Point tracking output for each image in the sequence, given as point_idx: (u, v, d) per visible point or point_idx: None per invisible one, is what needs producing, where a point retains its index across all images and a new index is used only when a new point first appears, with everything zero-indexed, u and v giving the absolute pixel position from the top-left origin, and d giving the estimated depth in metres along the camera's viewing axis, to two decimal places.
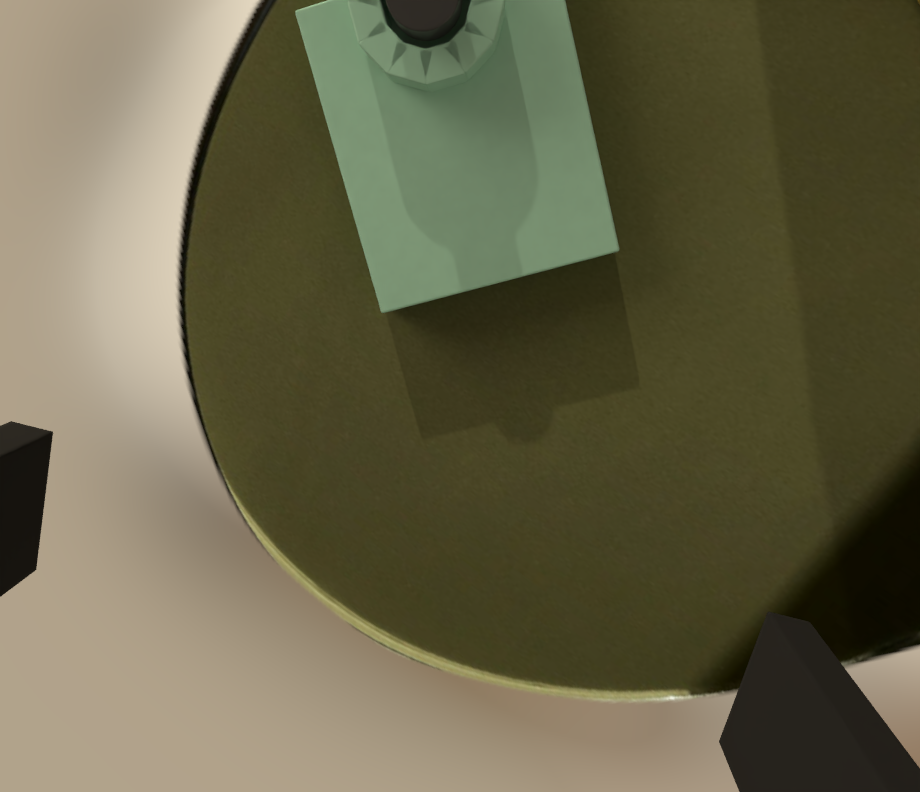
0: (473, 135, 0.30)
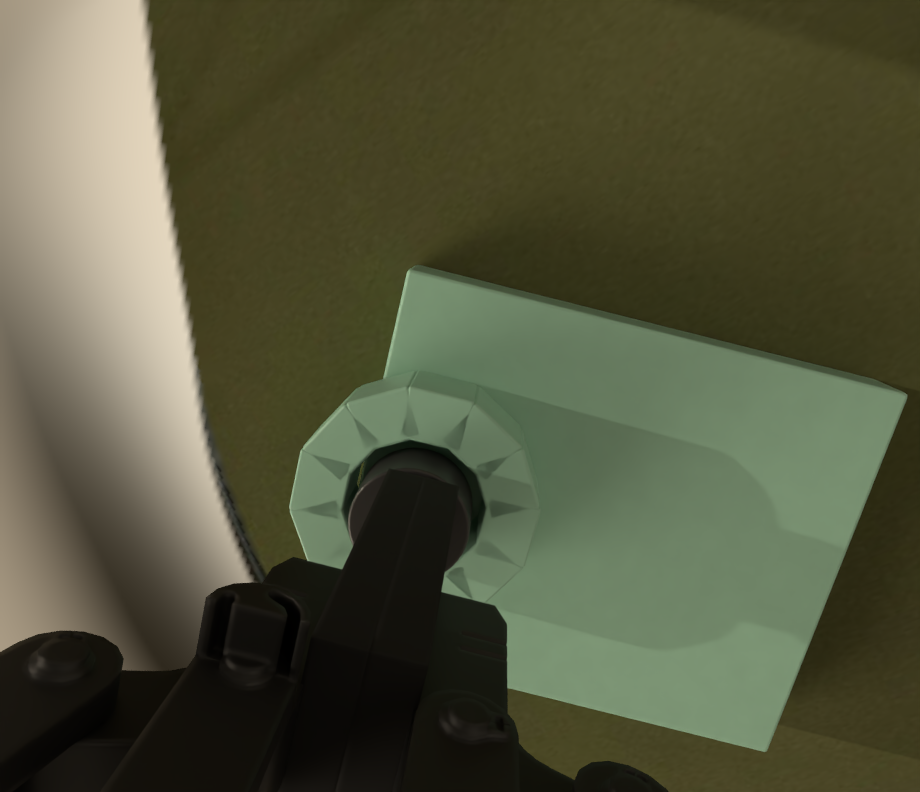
0: (612, 511, 0.19)
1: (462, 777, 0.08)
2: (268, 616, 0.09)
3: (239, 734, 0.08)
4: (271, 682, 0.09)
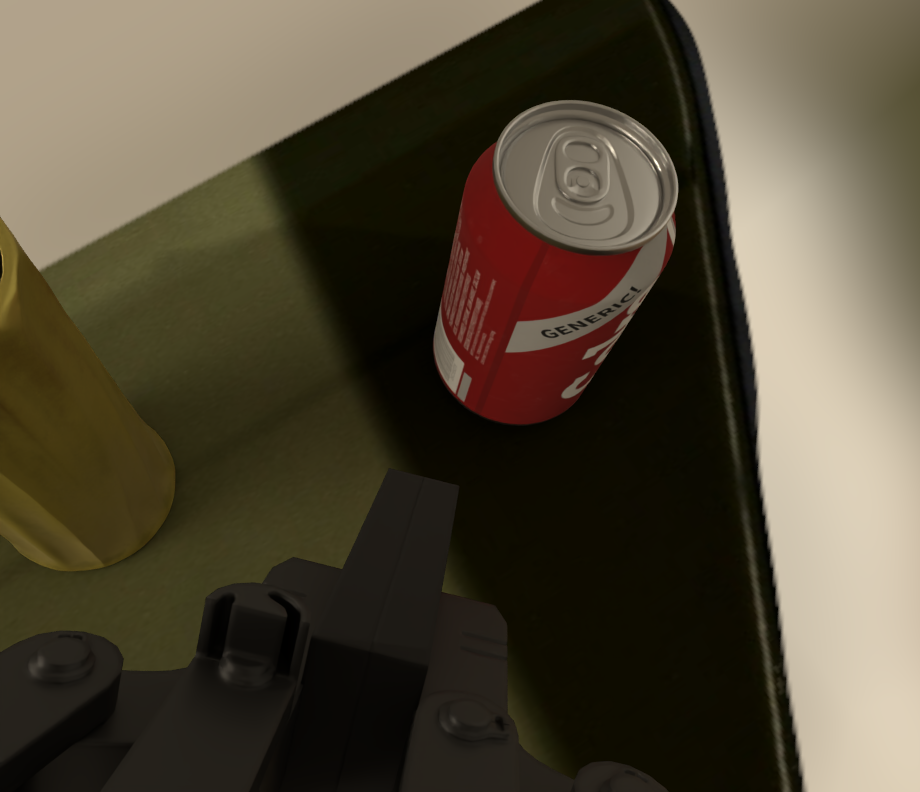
0: None
1: (462, 777, 0.08)
2: (268, 616, 0.09)
3: (239, 734, 0.08)
4: (271, 682, 0.09)
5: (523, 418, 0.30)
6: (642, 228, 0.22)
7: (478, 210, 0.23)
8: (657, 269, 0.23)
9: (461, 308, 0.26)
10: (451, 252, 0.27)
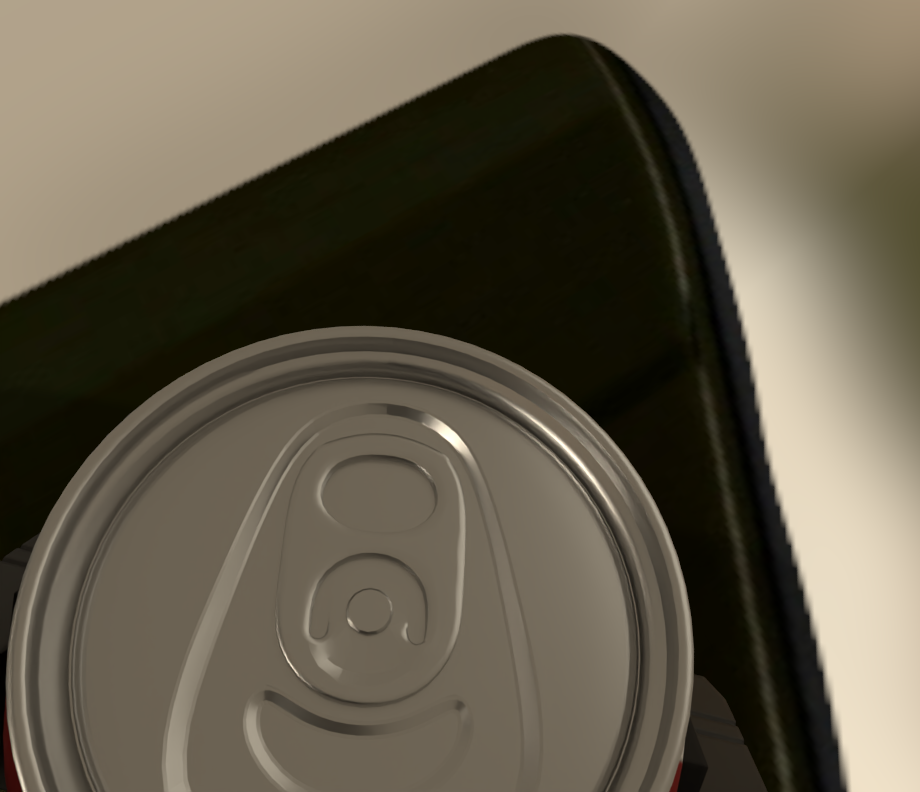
0: None
1: None
2: None
3: None
4: None
5: None
6: None
7: None
8: None
9: None
10: None
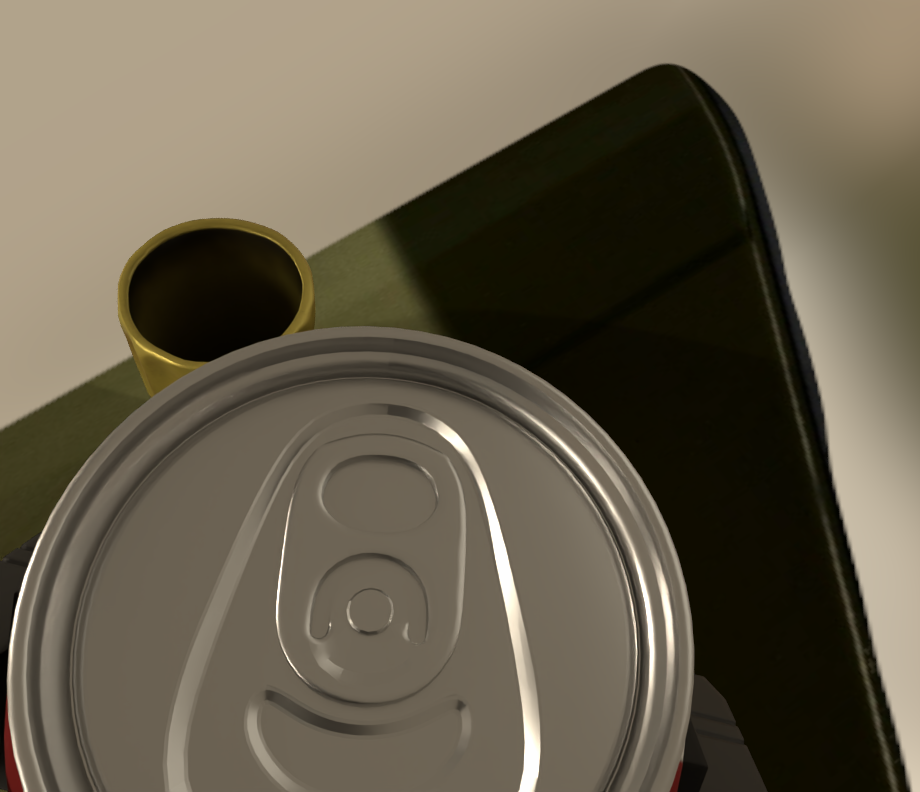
0: None
1: None
2: None
3: None
4: None
5: None
6: None
7: None
8: None
9: None
10: None
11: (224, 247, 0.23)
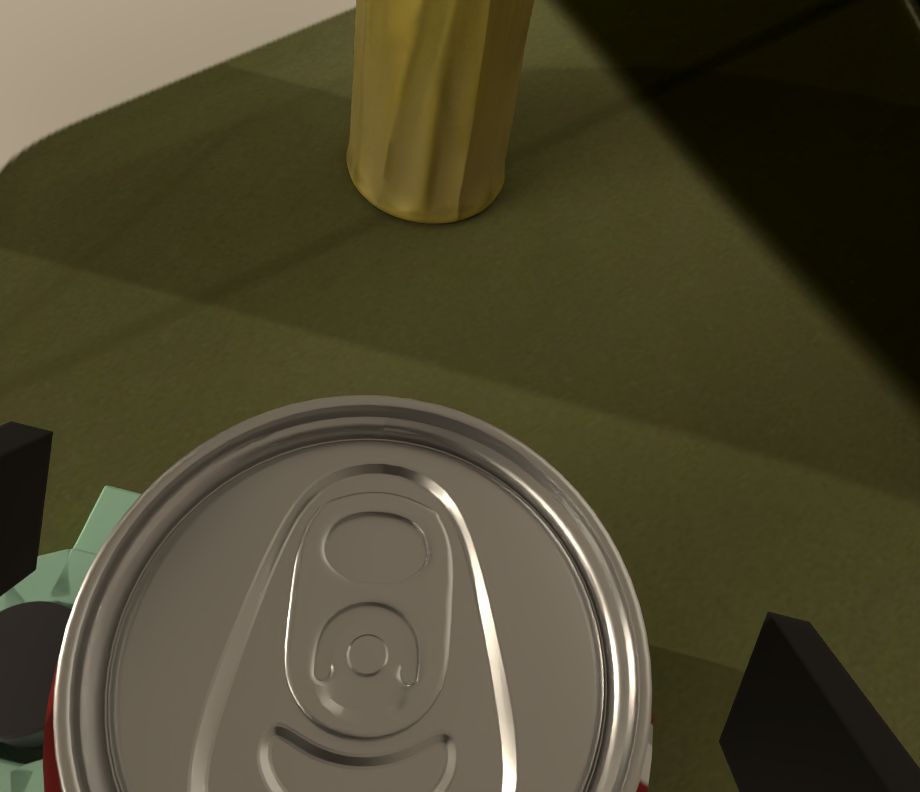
0: None
1: None
2: None
3: None
4: None
5: None
6: None
7: None
8: None
9: None
10: None
11: None
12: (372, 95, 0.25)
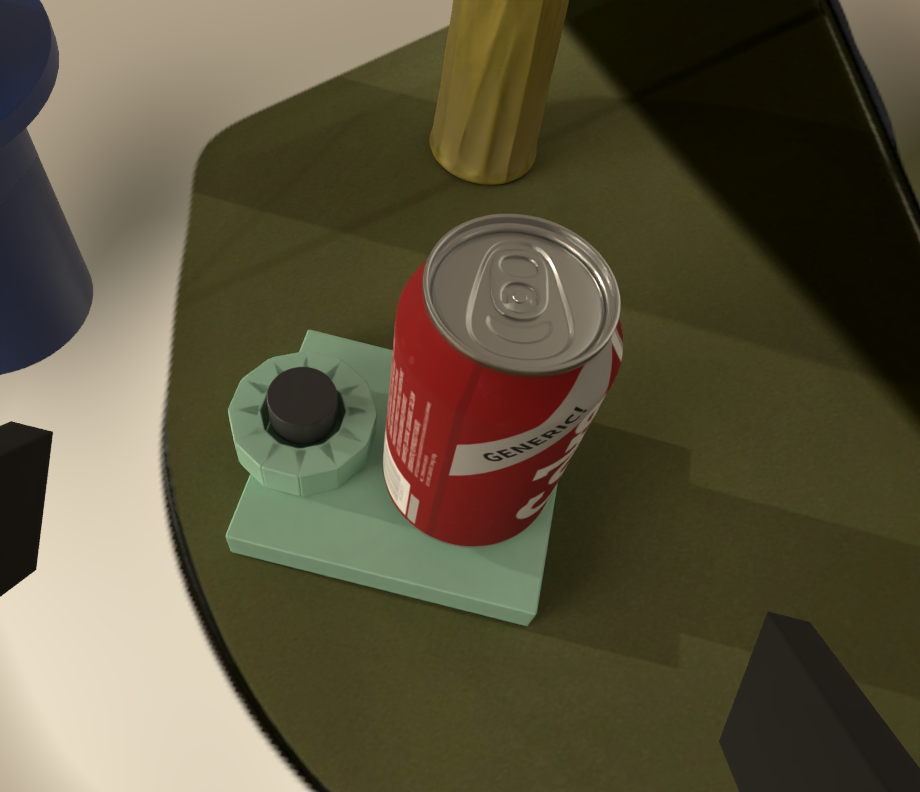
0: None
1: None
2: None
3: None
4: None
5: (478, 540, 0.28)
6: (584, 346, 0.21)
7: (409, 329, 0.21)
8: (603, 387, 0.22)
9: (401, 429, 0.24)
10: None
11: None
12: (455, 98, 0.39)
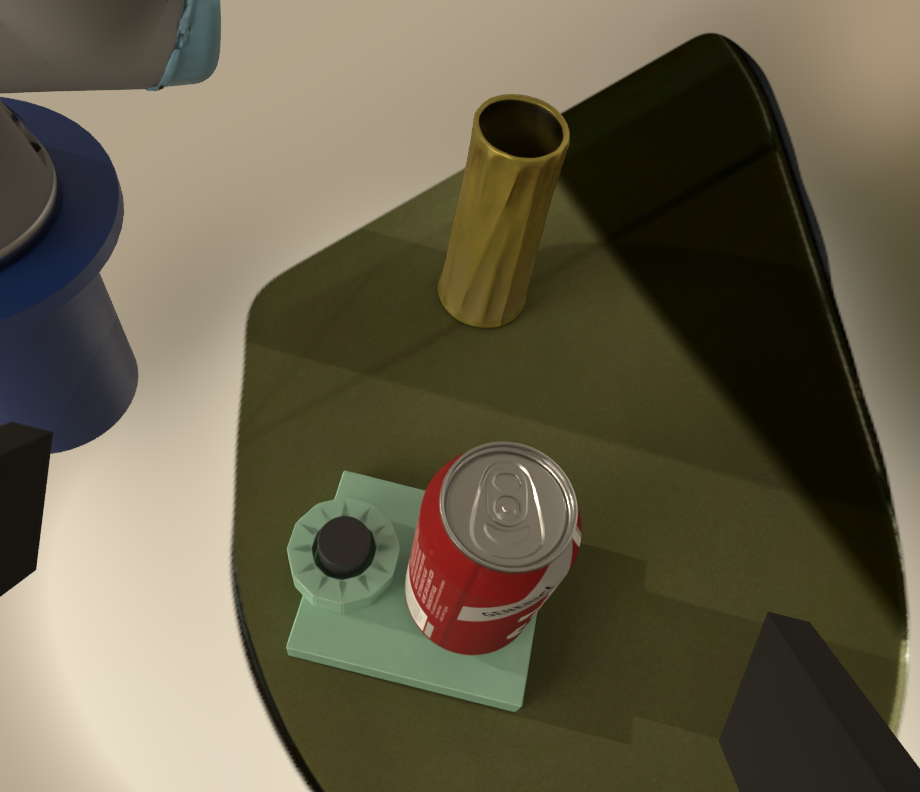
0: None
1: None
2: None
3: None
4: None
5: (477, 652, 0.37)
6: (551, 546, 0.30)
7: (430, 530, 0.31)
8: (565, 569, 0.31)
9: (422, 584, 0.34)
10: (414, 537, 0.34)
11: (511, 112, 0.43)
12: (459, 267, 0.48)
